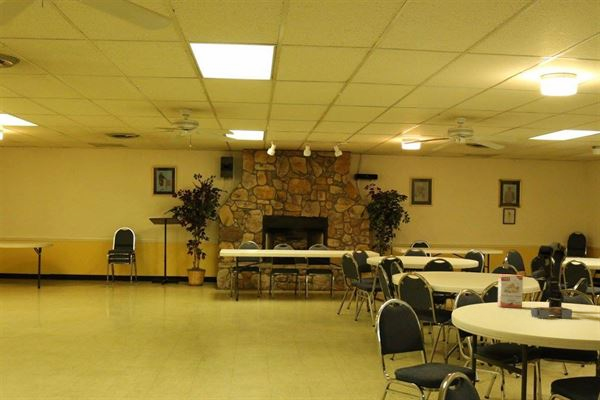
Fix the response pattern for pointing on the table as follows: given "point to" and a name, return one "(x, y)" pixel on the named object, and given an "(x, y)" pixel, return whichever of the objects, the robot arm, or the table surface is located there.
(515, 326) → the table surface
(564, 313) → the brackets
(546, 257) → the robot arm
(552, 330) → the table surface
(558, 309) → the walnut rail
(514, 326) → the table surface
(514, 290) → the cracker box
